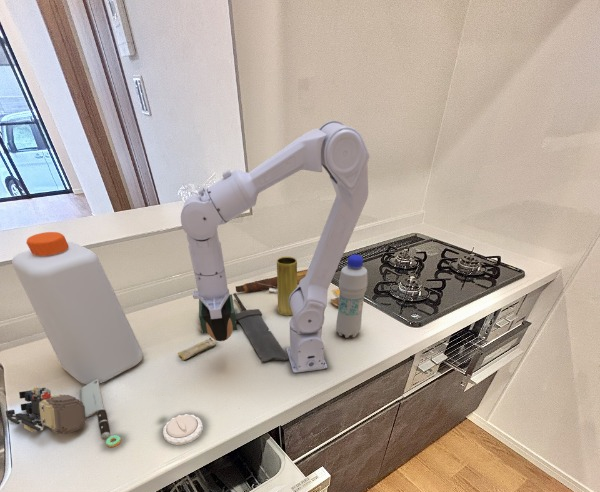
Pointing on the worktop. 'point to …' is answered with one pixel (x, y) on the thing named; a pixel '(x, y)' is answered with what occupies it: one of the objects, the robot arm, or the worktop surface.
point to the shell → (336, 293)
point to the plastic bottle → (77, 308)
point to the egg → (229, 330)
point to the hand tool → (266, 283)
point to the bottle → (351, 297)
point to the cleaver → (95, 406)
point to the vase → (286, 282)
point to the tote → (228, 306)
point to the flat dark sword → (259, 334)
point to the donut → (114, 437)
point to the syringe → (271, 289)
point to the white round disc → (182, 429)
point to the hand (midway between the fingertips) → (220, 331)
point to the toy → (49, 411)
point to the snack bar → (196, 349)
